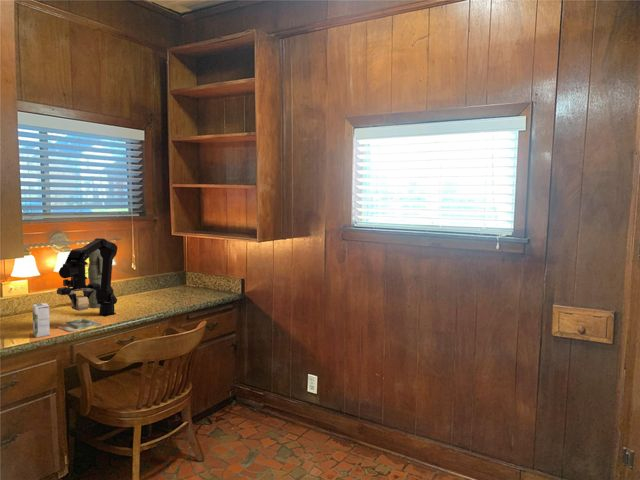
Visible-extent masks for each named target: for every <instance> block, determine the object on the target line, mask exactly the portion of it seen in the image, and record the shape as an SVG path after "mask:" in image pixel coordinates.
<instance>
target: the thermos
mask: <svg viewBox="0 0 640 480" xmlns="http://www.w3.org/2000/svg"><path fill="white" fill-rule="evenodd" d="M88 262H89V263H88V268H87V275H88V276H87V277H88V278H87V279H88V281H89V283H88V284H90V283H97V284H100V286H101V275H102V263H103V259H102V257H101V255H100V250H99V249H97V250H96V251H94V252H92V253H91V254H90V255H89V258H88ZM92 291H94V292H92V294H91V295H90V297H89V299H88V308H90V309H100V304H98V303H97V300H96V290H94V289H92Z"/></svg>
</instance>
